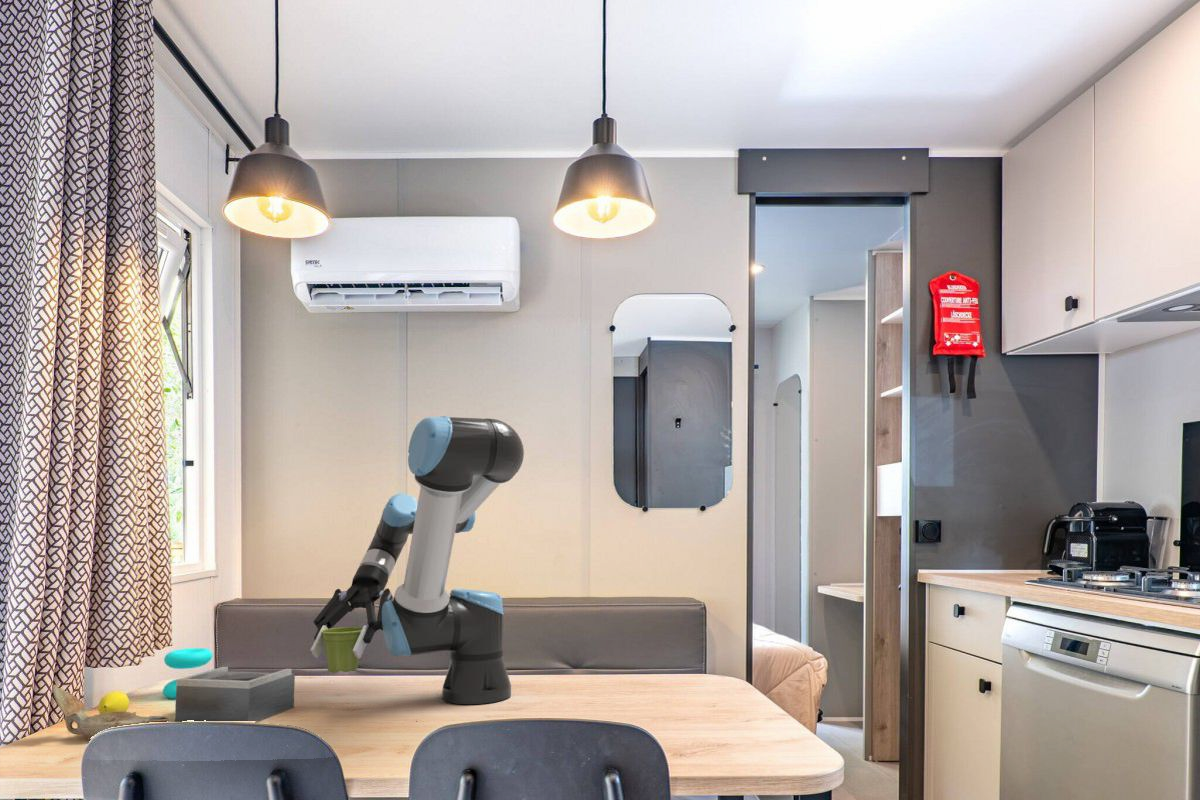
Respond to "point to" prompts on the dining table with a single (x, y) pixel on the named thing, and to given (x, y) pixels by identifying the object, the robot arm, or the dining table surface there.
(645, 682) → the dining table surface
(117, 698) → the lemon
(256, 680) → the gray open-top box
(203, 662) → the donuts
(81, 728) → the oil lamp
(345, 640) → the plant pot
